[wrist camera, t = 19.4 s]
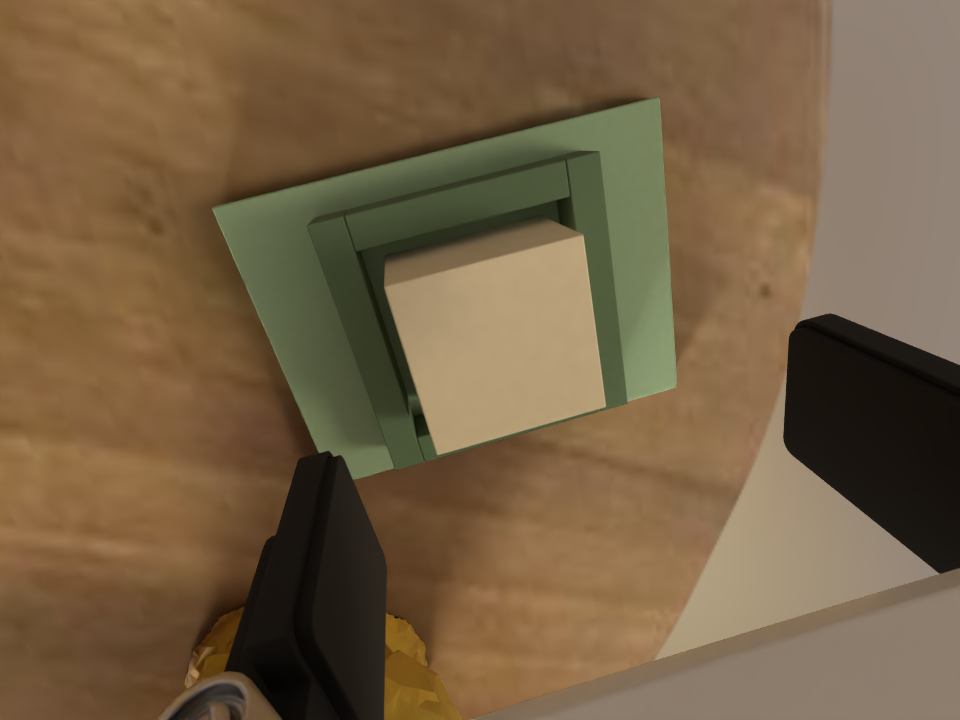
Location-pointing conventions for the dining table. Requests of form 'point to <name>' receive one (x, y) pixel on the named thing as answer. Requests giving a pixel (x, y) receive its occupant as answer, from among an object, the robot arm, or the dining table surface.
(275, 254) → the green rectangular tray
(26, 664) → the dining table surface
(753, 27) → the dining table surface
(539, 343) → the beige cube block
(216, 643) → the pitcher
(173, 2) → the dining table surface
